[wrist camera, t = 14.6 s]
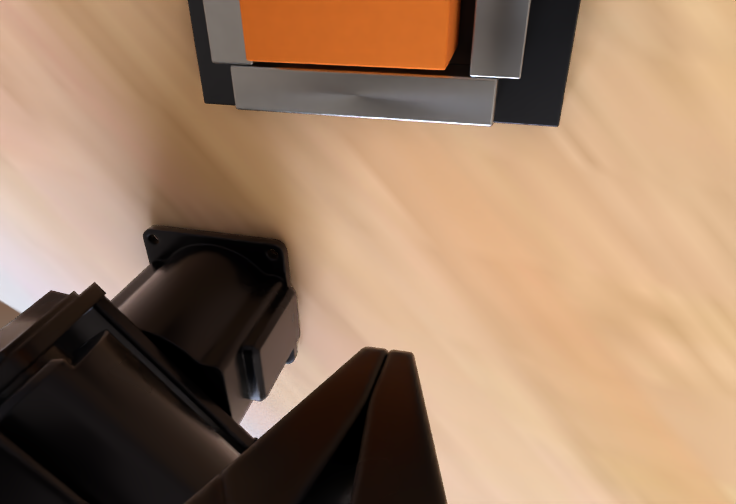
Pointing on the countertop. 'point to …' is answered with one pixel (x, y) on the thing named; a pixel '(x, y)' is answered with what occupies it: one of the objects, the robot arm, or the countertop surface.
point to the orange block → (352, 32)
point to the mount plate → (406, 70)
